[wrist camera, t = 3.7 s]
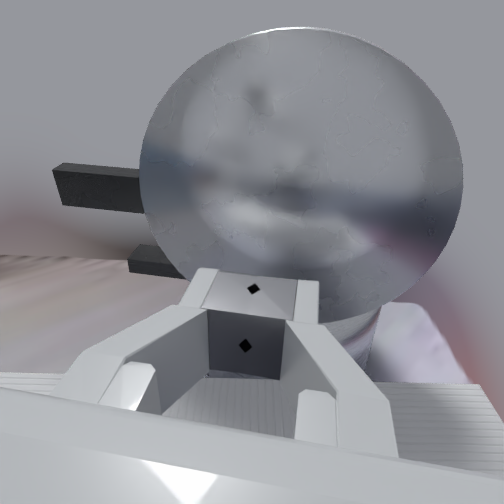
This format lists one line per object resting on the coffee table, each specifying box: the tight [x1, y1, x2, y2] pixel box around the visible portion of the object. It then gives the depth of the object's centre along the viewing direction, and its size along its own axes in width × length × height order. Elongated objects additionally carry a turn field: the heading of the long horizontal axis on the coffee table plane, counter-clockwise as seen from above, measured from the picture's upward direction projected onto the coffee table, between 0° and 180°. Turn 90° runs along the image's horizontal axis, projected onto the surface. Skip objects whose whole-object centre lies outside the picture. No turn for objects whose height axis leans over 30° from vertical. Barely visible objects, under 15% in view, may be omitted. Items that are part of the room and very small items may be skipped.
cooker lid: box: [52, 27, 463, 324], centre depth 22 cm, size 18×24×1 cm
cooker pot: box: [127, 244, 382, 379], centre depth 38 cm, size 19×25×12 cm
